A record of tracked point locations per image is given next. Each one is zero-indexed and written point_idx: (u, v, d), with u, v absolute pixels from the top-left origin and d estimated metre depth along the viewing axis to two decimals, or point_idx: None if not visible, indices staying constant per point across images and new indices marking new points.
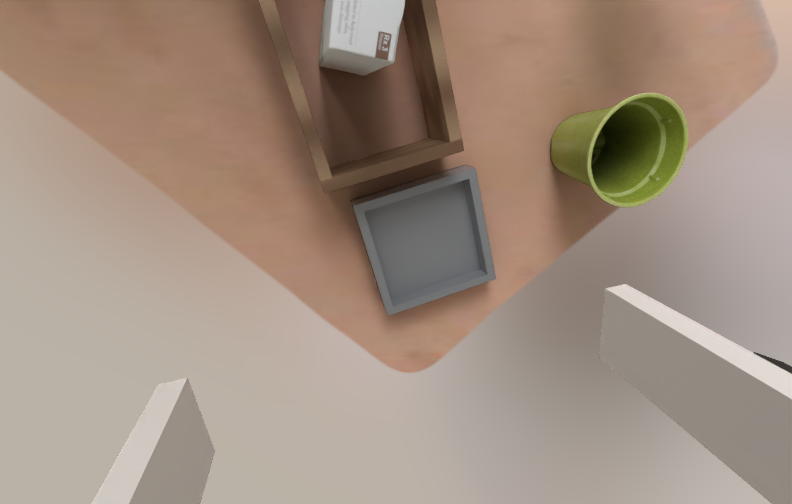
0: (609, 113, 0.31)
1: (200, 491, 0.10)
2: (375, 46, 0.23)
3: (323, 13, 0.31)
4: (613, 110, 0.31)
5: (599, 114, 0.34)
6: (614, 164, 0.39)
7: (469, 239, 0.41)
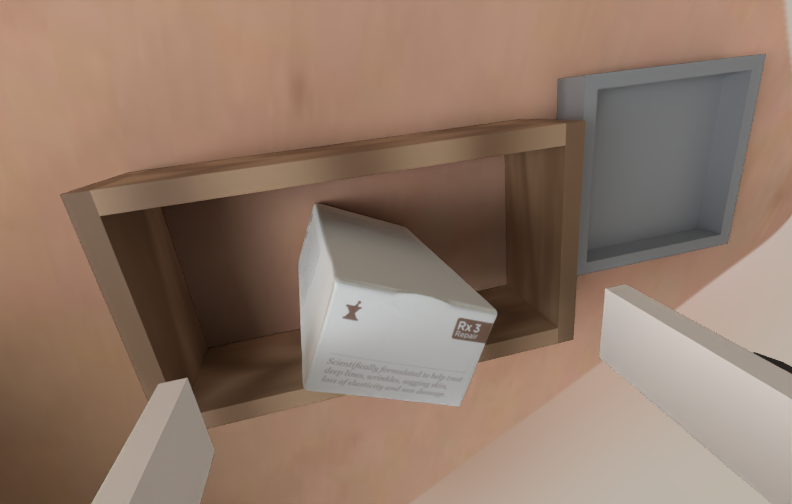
0: None
1: (200, 491, 0.10)
2: (471, 343, 0.13)
3: None
4: None
5: None
6: None
7: (672, 89, 0.24)
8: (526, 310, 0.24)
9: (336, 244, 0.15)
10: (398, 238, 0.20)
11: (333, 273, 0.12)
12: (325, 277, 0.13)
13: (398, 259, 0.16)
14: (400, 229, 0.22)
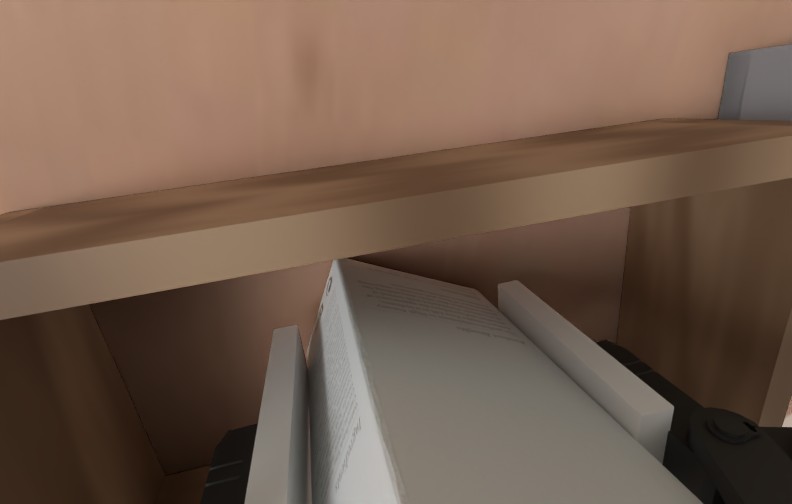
0: None
1: None
2: None
3: None
4: None
5: None
6: None
7: None
8: None
9: (404, 424, 0.06)
10: (489, 335, 0.11)
11: None
12: None
13: (540, 443, 0.07)
14: (476, 301, 0.14)
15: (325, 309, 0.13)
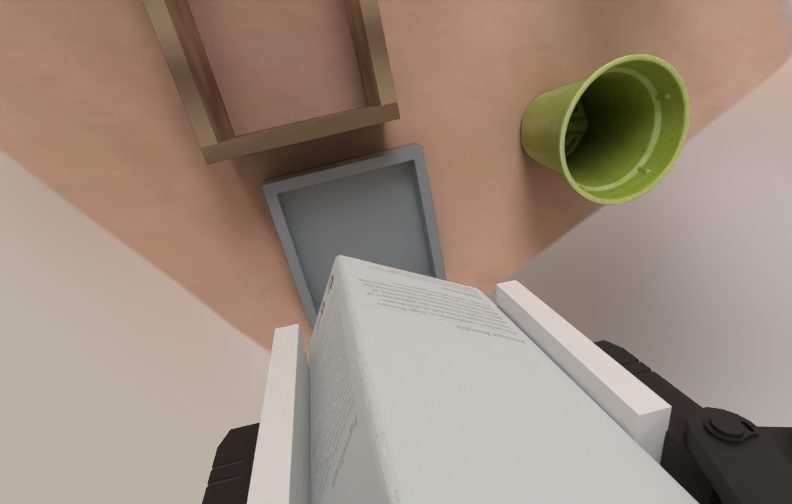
0: (590, 78, 0.24)
1: None
2: None
3: None
4: (595, 74, 0.24)
5: (579, 83, 0.26)
6: (597, 152, 0.32)
7: (417, 236, 0.33)
8: (222, 131, 0.25)
9: (399, 420, 0.06)
10: (489, 334, 0.11)
11: None
12: None
13: (536, 441, 0.07)
14: (477, 300, 0.14)
15: (326, 307, 0.13)
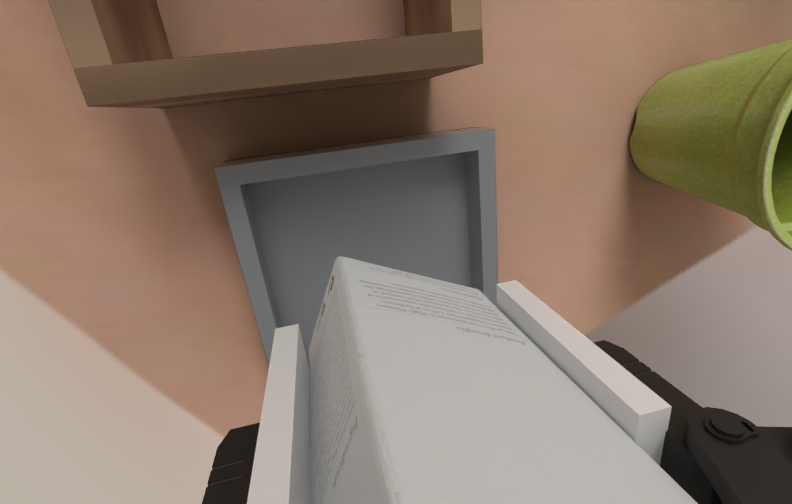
0: None
1: None
2: None
3: None
4: None
5: (786, 43, 0.15)
6: None
7: (460, 273, 0.21)
8: (140, 53, 0.13)
9: (399, 423, 0.06)
10: (489, 336, 0.11)
11: None
12: None
13: (536, 443, 0.07)
14: (477, 301, 0.14)
15: (327, 308, 0.13)
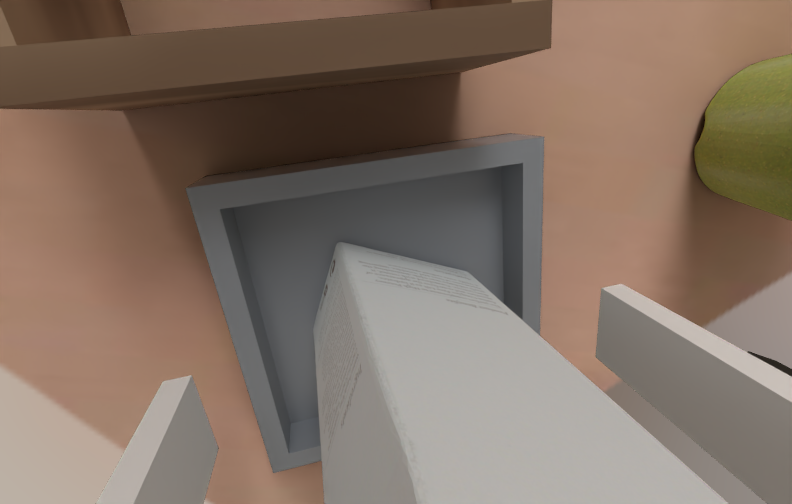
0: None
1: (204, 488, 0.10)
2: None
3: None
4: None
5: None
6: None
7: None
8: (75, 35, 0.09)
9: (396, 364, 0.08)
10: (476, 307, 0.12)
11: None
12: (387, 473, 0.06)
13: (511, 382, 0.08)
14: (466, 280, 0.15)
15: (329, 288, 0.14)
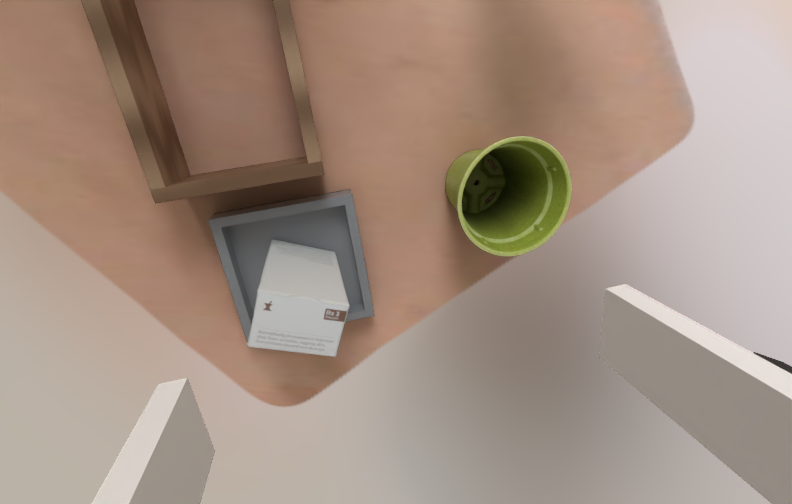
0: (482, 153, 0.28)
1: (200, 491, 0.10)
2: (335, 321, 0.26)
3: None
4: (486, 150, 0.28)
5: None
6: (509, 207, 0.37)
7: (350, 269, 0.38)
8: (173, 174, 0.29)
9: (269, 271, 0.27)
10: (318, 262, 0.32)
11: None
12: None
13: (305, 277, 0.28)
14: (327, 254, 0.35)
15: None
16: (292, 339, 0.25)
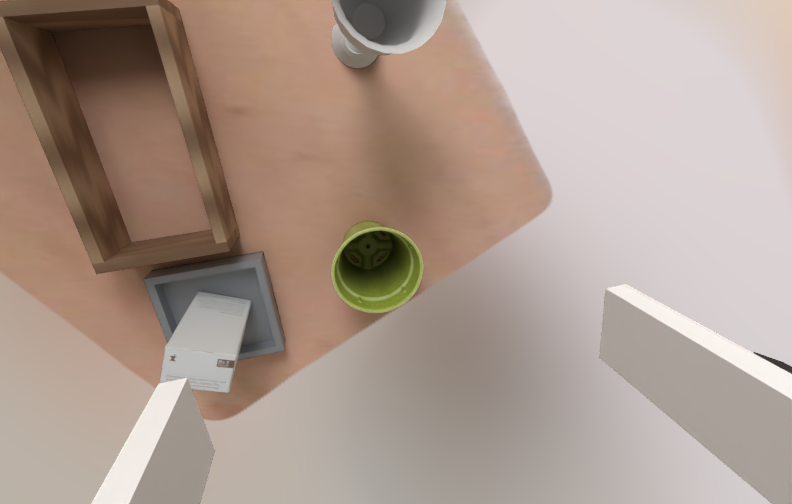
0: (347, 240, 0.38)
1: (200, 491, 0.10)
2: (226, 368, 0.35)
3: None
4: (351, 238, 0.38)
5: None
6: (392, 267, 0.46)
7: (264, 313, 0.47)
8: (113, 248, 0.38)
9: (182, 326, 0.37)
10: (229, 314, 0.41)
11: None
12: None
13: (210, 331, 0.37)
14: (241, 304, 0.44)
15: None
16: (193, 380, 0.35)
